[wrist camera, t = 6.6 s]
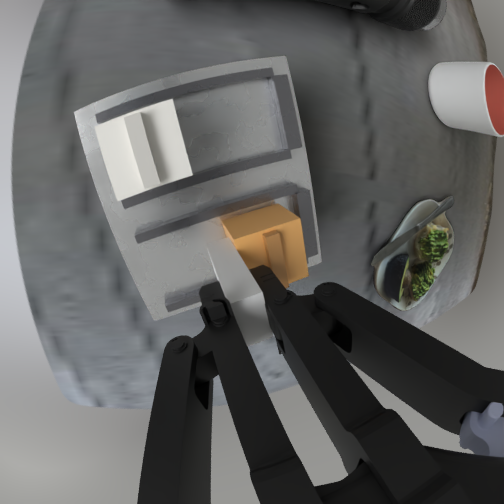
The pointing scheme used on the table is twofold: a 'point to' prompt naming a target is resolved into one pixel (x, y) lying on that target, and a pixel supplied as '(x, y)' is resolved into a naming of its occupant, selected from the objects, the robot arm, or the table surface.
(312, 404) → the robot arm
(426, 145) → the table surface
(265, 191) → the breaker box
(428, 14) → the muzzle brake
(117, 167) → the toggle white
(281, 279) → the toggle orange
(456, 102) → the cup
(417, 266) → the salad plate
